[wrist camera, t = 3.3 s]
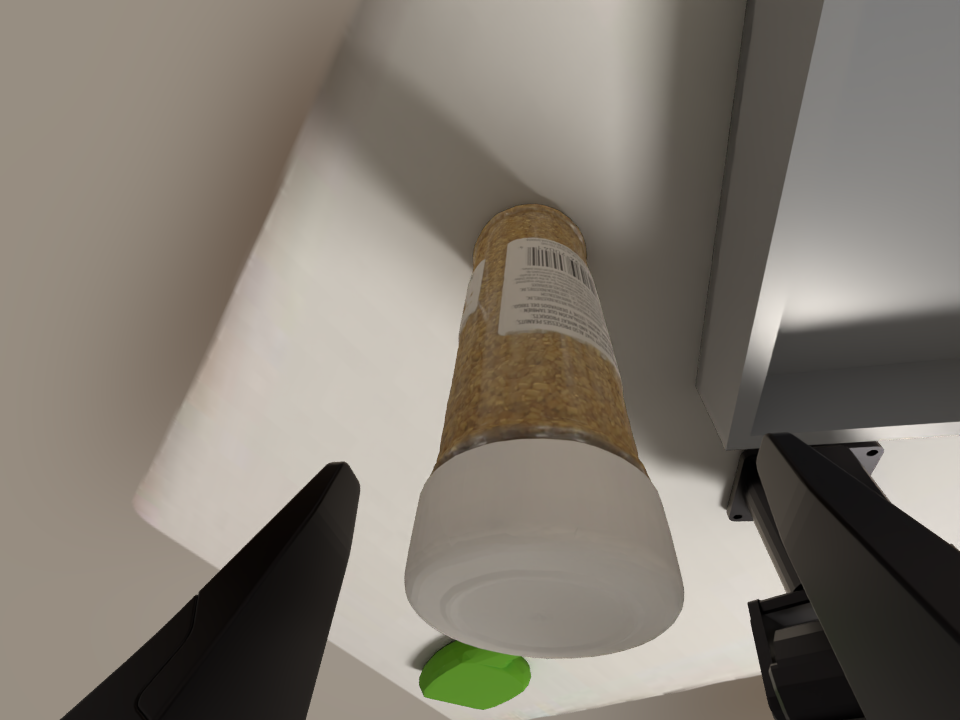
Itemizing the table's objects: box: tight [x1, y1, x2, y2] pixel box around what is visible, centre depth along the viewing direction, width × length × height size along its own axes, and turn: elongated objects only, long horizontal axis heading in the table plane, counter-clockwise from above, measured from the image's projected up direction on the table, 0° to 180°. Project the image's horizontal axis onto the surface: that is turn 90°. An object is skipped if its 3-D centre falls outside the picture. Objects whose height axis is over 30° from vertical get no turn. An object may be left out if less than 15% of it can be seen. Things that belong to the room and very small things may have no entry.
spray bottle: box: [419, 640, 531, 710], centre depth 45 cm, size 3×11×24 cm
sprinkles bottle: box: [404, 204, 684, 659], centre depth 12 cm, size 5×5×13 cm
